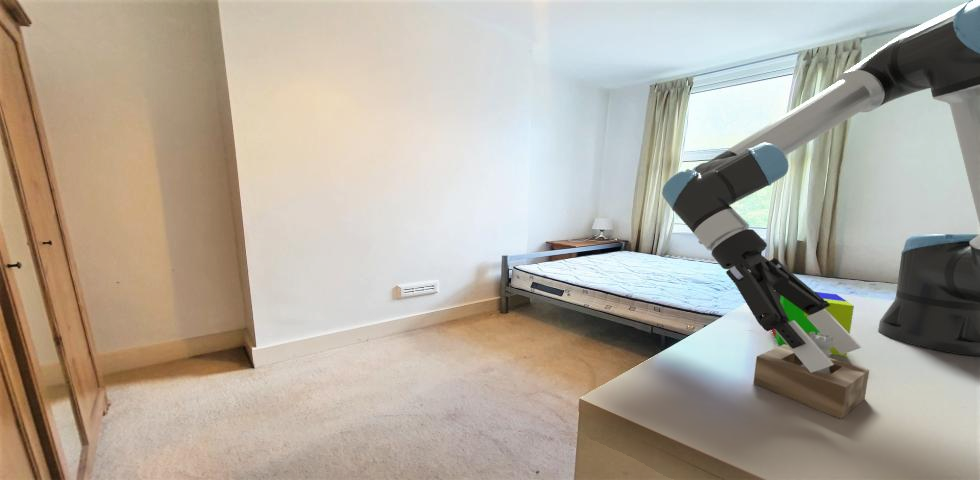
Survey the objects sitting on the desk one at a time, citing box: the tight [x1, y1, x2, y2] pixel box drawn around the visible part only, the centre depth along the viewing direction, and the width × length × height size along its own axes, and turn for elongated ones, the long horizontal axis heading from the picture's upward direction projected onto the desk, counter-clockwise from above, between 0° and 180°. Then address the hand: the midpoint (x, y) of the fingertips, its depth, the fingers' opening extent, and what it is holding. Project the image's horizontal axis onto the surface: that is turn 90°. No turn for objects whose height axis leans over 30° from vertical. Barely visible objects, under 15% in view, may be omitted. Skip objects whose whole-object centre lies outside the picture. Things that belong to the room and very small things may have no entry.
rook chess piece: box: [801, 332, 835, 375], centre depth 51 cm, size 4×4×8 cm
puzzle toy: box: [771, 291, 855, 357], centre depth 71 cm, size 10×10×10 cm
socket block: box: [753, 344, 870, 420], centre depth 51 cm, size 10×10×4 cm
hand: (837, 359), depth 49 cm, fingers open, 11 cm apart
